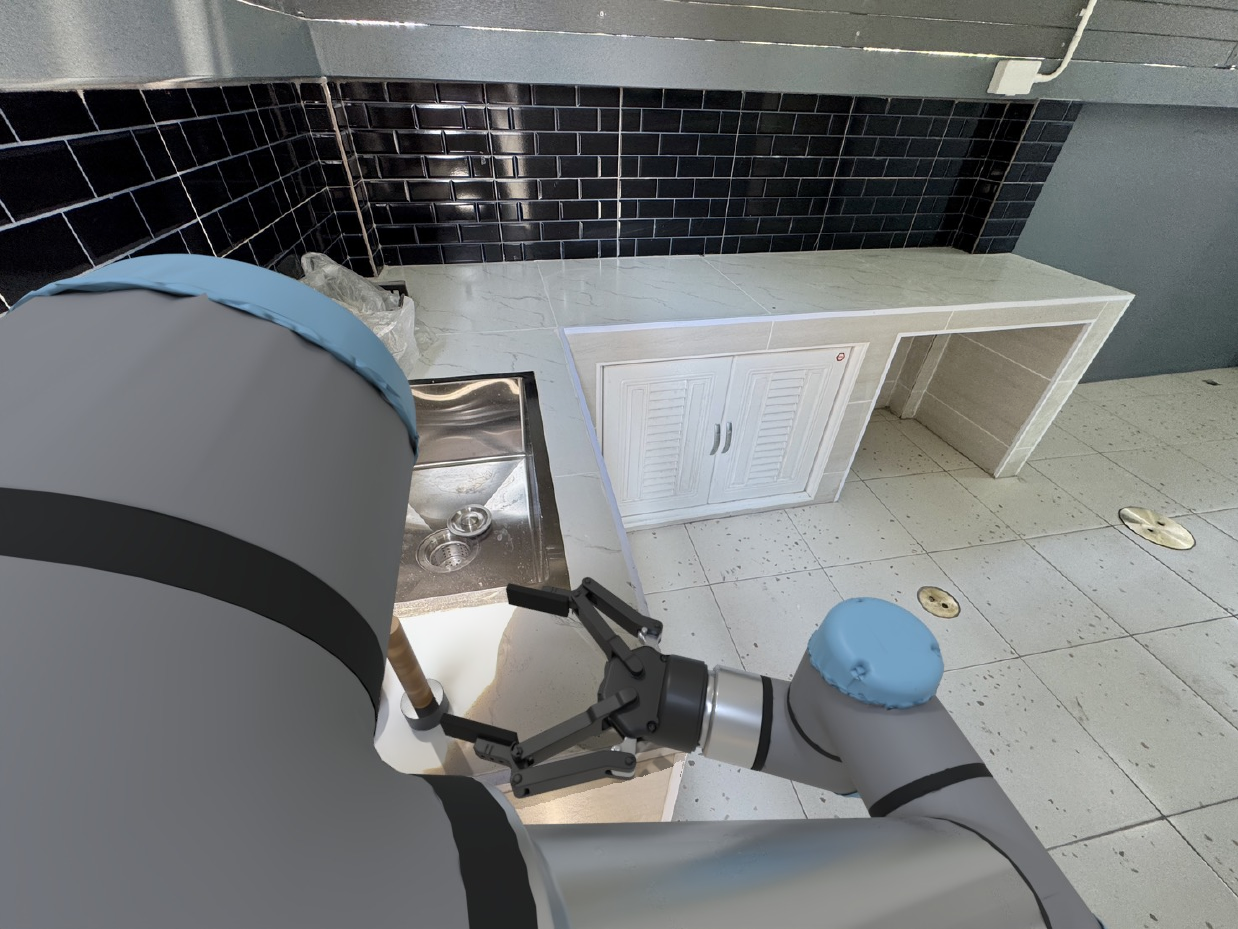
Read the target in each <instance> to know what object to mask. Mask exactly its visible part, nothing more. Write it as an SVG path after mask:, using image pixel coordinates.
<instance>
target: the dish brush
mask: <svg viewBox="0 0 1238 929" xmlns="http://www.w3.org/2000/svg"><path fill="white" fill-rule="evenodd" d="M403 627H404V626H403V625H402V623H401V620H400V619H399V617H398V616H396V615H393V617H392V624H391V632H390V639H389V646H388V653H387V661H388V662H389V664H390V666H391V668H392V670H393V672H394V673H395V675H396V678H397V680H398V681H399V683H400V685H401V687H402V689H403V691H404V692H403V694H402V696H401V699H400V710H401V713H402V715H403V717H404V718H405V720H406V722H407V724H408V725H409V727H411V728H412V729H413V730H416V731H419V732H425V731H430V730H432V729H434V728H436V727H437V726H439V725H440V722H439V721H440V719H441V717H442V715H443V713H448V711H449V706H450V705H449V704H450V703H449V698H448V697H447V694H446V692H445V690H444V687H443V685H442V684H441V682H440V681H438V680H436V679H434V678H426V675H425V673H424V671H423V669H422V666H421V665H420V661H419V659H418V658H417V655H416V653H415V651H414V649H413V647H412V645H411V643H410V640H409V638H408V636H407V633H406V631H405V629H404V628H403Z"/></svg>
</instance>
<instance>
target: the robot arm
mask: <svg viewBox="0 0 1238 929" xmlns="http://www.w3.org/2000/svg"><path fill="white" fill-rule="evenodd" d="M416 411H417V410H416V404H415V399H414V395H413V391H412V389H411V385H410V383H409V381H408V378H407V376H406V374H405V372H404V370H403V369H402V368H401V366H400V365H399V364H398V362H397V360H396V358H395V356H394V354H392V353H391V351H390V350H389V349H388V347H387V346H386V345H385V343H384V342H383V341H382V339H380V337H379V336H378V335H377V334H376V333H375V332H374V331H373V330H372V329H371V328H370V327H368V326H367V324H365V322H363V321H362V320H361V319H360V318H359V317H358V316H356V315H355V314H353V313H352V312H351V311H350V310H348V309H347V308H345V307H344V306H342V305H341V304H340V303H339V302H336V301H335V300H333V299H332V298H330V297H329V296H327V295H326V294H324V293H322V292H320V291H318V290H317V289H314V288H313V287H311V286H309V285H307V284H305V283H303V282H301V281H299V280H296V279H294V278H292V277H289V276H287V275H284V274H282V273H280V272H276V271H274V270H271V269H268V268H265V267H262V266H259V265H255V264H253V263H248V262H245V261H239V260H236V259H231V258H225V257H218V256H212V255H205V254H204V255H203V254H193V253H163V254H152V255H151V254H150V255H142V256H137V257H132V258H127V259H123V260H119V261H117V262H112V263H109V264H107V265H105V266H102V267H100V268H98V269H96V270H93V271H91V272H89V273H85V274H84V275H82V276H75V277H69V278H63V279H60V280H57V281H53V282H50V283H48V284H46V285H45V286H43V287H41V288H39V289H37V290H31V291H29V292H28V293H26V294H25V295H24V296H22V297H21V298H20V299H19V300H18V301H17V302H15V303H14V304H12V306H11V307H10V308H8V310H7V311H6V313H5V314H4V315H3V316H2V317H0V929H1108V927H1107V926H1106V924H1104V922H1103V921H1102V920H1101V919H1100V918H1099V917H1097V915H1096V914H1095V913H1094V912H1092V910H1091V909H1090V907H1089V906H1088V905H1087V903H1086V902H1085V901H1084V899H1083V898H1082V896H1081V895H1080V893H1079V892H1078V891H1077V889H1076V888H1075V887H1074V886H1073V884H1072V882H1071V881H1070V880H1069V879H1068V877H1067V876H1066V875H1065V873H1064V872H1063V870H1062V869H1061V867H1060V866H1059V865H1058V864H1057V862H1056V861H1055V860H1054V858H1053V857H1052V856H1051V854H1050V852H1049V851H1048V850H1047V848H1046V847H1045V846H1044V844H1043V843H1042V842H1041V840H1040V839H1039V838H1038V836H1037V835H1036V833H1035V832H1034V831H1033V829H1032V828H1031V827H1030V825H1029V823H1027V821H1026V819H1025V818H1024V817H1023V815H1022V814H1021V813H1020V811H1019V810H1018V808H1017V807H1016V805H1015V804H1014V803H1013V802H1012V800H1011V799H1010V798H1009V796H1008V795H1007V794H1006V792H1005V791H1004V790H1003V788H1002V787H1001V785H1000V784H999V782H998V781H997V779H996V778H994V775H993V773H992V772H991V771H990V770H989V768H988V766H987V765H986V763H985V761H984V760H983V759H982V758H981V756H980V755H979V753H978V752H977V750H976V749H975V748H974V746H973V745H972V743H971V742H970V741H969V740H968V738H967V737H966V735H965V734H964V733H963V730H962V729H961V727H960V726H959V725H958V724H957V723H956V722H957V721H955V720H954V718H953V717H952V716H951V714H950V713H949V711H948V710H947V708H946V707H945V706H944V704H943V703H942V701H941V700H940V699H939V697H938V696H937V690H938V688H939V686H941V684H940V683H941V681H942V679H943V676H944V673H945V663H944V659H943V655H942V653H941V648H940V644H939V642H938V640H937V638H936V636H935V635H934V633H933V632H932V630H930V628H929V627H928V626H927V625H926V624H925V623H924V622H923V621H922V620H921V619H919V617H917V616H916V615H915V614H914V613H912V612H910V611H909V610H907V609H906V608H904V607H902V606H900V605H898V604H896V603H893V602H891V601H888V600H885V599H882V598H878V597H872V596H860V597H850V598H847V599H844V600H842V601H839V602H838V603H837V604H835V605H834V606H832V608H831V609H829V611H828V612H827V614H826V616H825V617H824V619H823V620H822V622H821V624H819V626H818V627H817V629H815V630H814V631H813V633H811V636H810V637H809V639H808V641H807V646H806V649H805V651H804V653H803V655H802V658H801V659H800V662H799V664H798V666H797V668H796V670H795V672H794V675H793V676H792V679H791V681H790V680H786V679H780V678H776V677H771V676H767V675H763V674H759V673H755V672H750V671H746V670H743V669H739V668H734V667H731V666H726V665H721V664H718V663H717V664H716V665H715V666H714V667H712V669H709V665H708V664H707V663H705V661H704V660H699V659H696V658H691V657H688V656H682V655H678V654H674V653H673V654H672V653H671V654H664V653H661V652H659V651H658V650H657V647H658V645H659V644H661V642H662V637H663V630H664V624H663V622H662V621H660V620H659V619H656V618H652V617H649V616H647V615H643V614H642V613H641V612H639V611H638V610H637V609H635V608H633V607H632V606H631V605H629V604H628V603H627V602H625V601H624V600H622V599H621V598H620V597H619V596H617V595H615V594H614V592H613V593H612V591H610V590H609V589H607V587H605V586H603V585H601V584H600V583H599V582H598V581H596V580H595V579H594V578H592V577H590V576H586V577H585V576H584V578H582V580H581V584H580V585H578V587H577V588H576V589H572V590H570V589H565V588H561V587H556V586H551V585H543V586H542V587H541V589H537V588H533V587H529V586H525V585H520V584H515V583H511V582H508V584H507V585H506V588H505V592H506V598H507V604H508V605H510V606H514V607H517V608H518V607H519V608H522V609H526V610H527V609H528V610H531V611H536V612H540V613H545V614H548V615H552V616H557V617H562V618H566V619H567V618H568V617H569V614H570V610H571V614H572V616H573V615H575V617H576V618H577V619H578V620H579V622H580V623H581V624H582V626H583V627H584V628H585V630H586V631H587V632H588V633H589V635H590V636H591V638H592V639H593V640H594V641H595V643H596V645H598V647H599V648H600V649H601V651H602V652H603V653H604V655H605V657H606V659H607V660H606V661H605V665H604V668H603V679H602V680H601V682H600V684H599V686H598V690H597V693H596V696H597V698H596V701H597V702H596V703H594V704H592V705H590V706H589V707H588V708H587V709H586V710H584V711H583V712H581V713H579V714H577V715H574V716H573V717H571V718H568V719H567V720H564V721H563V722H561V723H558V724H556V725H555V726H552V727H550V728H548V729H546V730H544V731H542V732H540V733H538V734H536V735H533V736H531V737H529V738H527V739H526V740H523V741H521V742H520V740H519V736H518V732H517V731H513V730H509V729H507V728H503V727H498V726H496V725H491V724H487V723H484V722H480V721H477V720H473V719H469V718H465V717H462V716H458V715H455V714H451V713H448V712H447V713H443V715H442V717H441V719H440V721H439V722H440V724H439V725H440V726H441V729H442V731H443V734H444V735H445V736H447V737H450V738H452V739H453V738H454V739H457V740H460V741H464V742H467V743H471V744H474V745H473V746H472V749H473V751H474V754H475V755H476V756H477V758H478V759H480V760H483V761H487V762H491V763H494V764H497V765H501V766H504V767H507V768H509V769H510V776H509V783H510V788H511V791H512V794H513V796H514V797H515V798H516V799H518V800H520V799H525V798H530V797H534V796H537V795H541V794H546V793H550V792H554V791H558V790H562V789H566V788H570V787H574V786H578V785H582V784H586V783H590V782H594V781H595V782H596V781H598V780H602V779H614V780H619V781H620V780H621V781H628V782H629V781H632V780H633V779H634V778H635V776H636V769H637V762H638V761H637V757H636V751H637V743H641V742H647V743H651V744H653V745H656V746H659V747H663V748H667V749H671V750H673V751H678V752H682V753H685V754H690V755H691V754H692V752H693V753H695V752H696V751H697V748H699V749H701V753H702V755H703V757H704V758H705V759H709V760H713V761H717V762H721V763H724V764H728V765H732V766H736V767H740V768H742V769H743V768H744V769H747V770H750V771H753V772H761V773H764V774H768V775H771V776H774V777H777V778H781V779H785V780H790V781H793V782H796V783H799V784H803V785H807V786H810V787H813V788H817V789H821V790H825V791H828V792H831V793H833V794H835V795H836V796H841V797H843V798H846V799H847V798H848V799H850V798H855V799H859V800H861V801H862V803H863V804H864V806H865V808H866V811H867V812H868V815H869V817H828V818H827V817H823V818H779V819H777V818H776V819H774V818H773V819H772V818H771V819H729V820H724V819H723V820H721V819H720V820H681V821H680V820H679V821H678V820H677V821H675V820H674V821H673V820H672V821H631V822H630V821H627V822H626V821H625V822H584V823H583V822H578V823H577V822H576V823H571V822H570V823H531V824H530V823H527V824H526V823H525V824H524V822H523V821H522V818H521V817H520V815H519V813H518V811H517V810H516V807H515V806H514V804H512V802H511V801H510V800H509V799H508V798H507V796H506V795H505V793H504V792H503V791H502V790H501V789H500V788H499V787H497V786H496V785H495V784H493V783H492V782H491V781H489V780H487V779H484V778H481V777H478V776H472V775H462V774H461V775H460V774H459V775H453V774H433V773H431V774H427V773H405V772H402V771H399V770H398V769H396V768H394V767H393V766H392V765H390V764H389V763H387V762H386V761H385V760H384V759H383V758H382V757H381V755H380V754H379V752H378V750H377V748H376V746H375V737H376V734H377V733H376V732H377V727H378V719H379V711H380V703H381V697H382V696H381V695H382V689H383V684H384V680H385V675H386V669H387V668H386V667H387V666H386V665H387V661H388V658H387V653H388V646H389V639H390V632H391V624H392V617H393V616H394V610H395V601H396V595H397V588H398V581H399V574H400V566H401V558H402V552H403V545H404V537H405V529H406V522H407V516H408V508H409V502H410V494H411V493H410V492H411V486H412V485H411V484H412V480H413V479H412V478H413V473H414V472H413V471H414V467H415V465H416V464H417V461H418V459H419V455H420V448H419V443H420V439H421V437H420V435H419V433H418V431H417V428H418V427H417V412H416ZM600 612H601V613H602V614H603V615H605V616H606V618H609V619H610V620H611V621H612V622H614V623H615V624H616V625H617V626H619V627H620V628H621V629H623V630H624V631H626V632H627V633H628V634H630V635H631V636H633V637H634V638H636V639H637V641H638V643H640V644H641V646H638V647H635V648H633V649H631V648H630V647H629V645H628V644H627V643H626V642H625V640H624V639H623V638H622V637H621V636H620V635H619V634H616V632H615V631H614V630H613V629H612V628H611V626H610V625H609V624H608V623H607V622H606V620H605V619H604V617H602V615H601V614H600ZM611 730H614V731H615V732H616V734H617V735H618V736H619V737H620V738H621V739H622V742H620V743H616V744H613V745H612V746H611V748H610V749H608V750H599V751H593V752H589V753H586V754H581V755H577V756H572V757H569V758H564V759H559V760H555V761H552V762H551V761H550V762H548V763H544V764H541V763H543V762H545V761H547V760H548V759H551V758H553V757H555V756H556V755H558V754H560V753H562V752H564V751H567V750H569V749H571V748H572V747H574V746H576V745H578V744H580V743H582V742H584V741H586V740H588V739H590V738H592V737H593V738H594V737H596V738H597V737H599V736H601V735H603V734H604V733H607V732H609V731H611Z"/></svg>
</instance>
